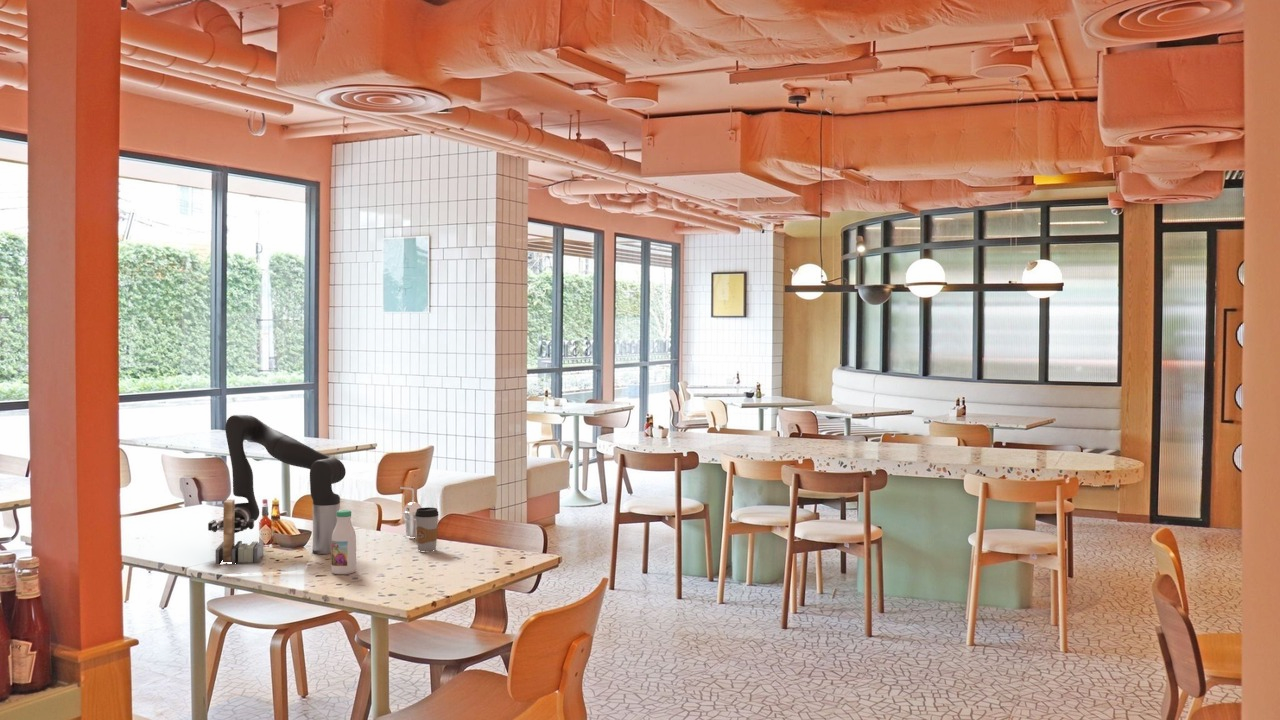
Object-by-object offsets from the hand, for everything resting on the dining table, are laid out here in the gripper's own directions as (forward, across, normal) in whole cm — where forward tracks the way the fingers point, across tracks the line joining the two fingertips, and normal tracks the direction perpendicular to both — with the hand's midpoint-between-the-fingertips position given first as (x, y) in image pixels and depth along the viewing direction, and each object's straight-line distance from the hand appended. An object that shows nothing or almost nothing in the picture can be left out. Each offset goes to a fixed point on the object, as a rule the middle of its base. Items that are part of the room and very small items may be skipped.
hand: (228, 528), depth 326 cm
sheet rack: (-2, +4, +12) cm, 13 cm away
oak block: (-2, 0, +11) cm, 11 cm away
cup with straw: (-34, +60, +12) cm, 70 cm away
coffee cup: (-9, +66, +12) cm, 67 cm away
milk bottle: (+20, +38, +12) cm, 45 cm away
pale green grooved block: (-2, +6, +11) cm, 13 cm away
